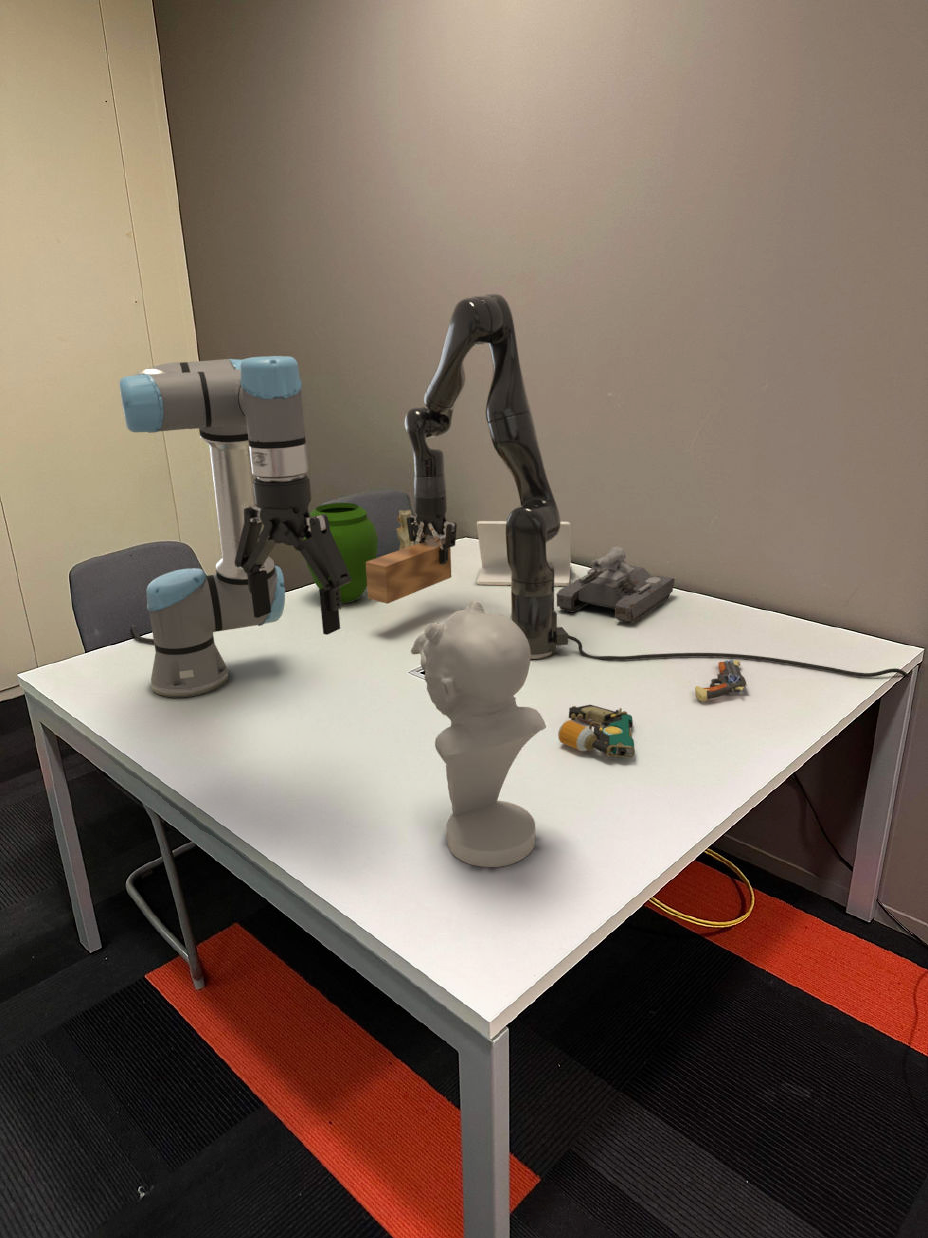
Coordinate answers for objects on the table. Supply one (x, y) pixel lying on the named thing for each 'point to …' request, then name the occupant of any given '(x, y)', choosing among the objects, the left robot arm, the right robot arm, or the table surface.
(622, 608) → the toy
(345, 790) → the table surface
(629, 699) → the table surface
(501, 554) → the tablet stand
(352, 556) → the vase
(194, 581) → the left robot arm
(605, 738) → the spray gun
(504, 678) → the bust sculpture
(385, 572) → the box
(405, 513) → the sculpture
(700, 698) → the toy gun
